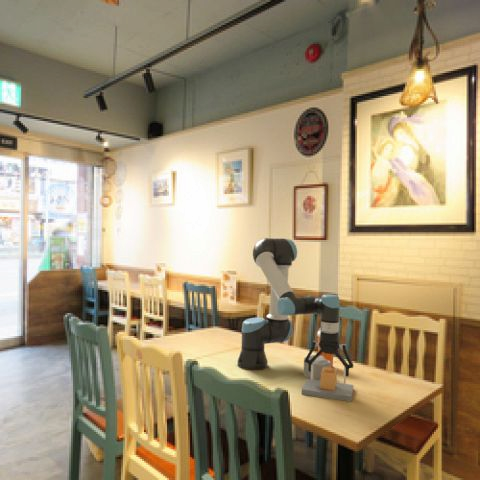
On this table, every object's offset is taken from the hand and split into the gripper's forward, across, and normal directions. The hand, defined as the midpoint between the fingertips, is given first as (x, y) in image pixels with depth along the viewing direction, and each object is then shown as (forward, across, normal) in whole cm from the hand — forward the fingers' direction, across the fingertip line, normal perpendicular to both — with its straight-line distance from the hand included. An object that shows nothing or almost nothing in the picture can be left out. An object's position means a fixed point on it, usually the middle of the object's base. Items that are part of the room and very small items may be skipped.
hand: (328, 381), depth 172 cm
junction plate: (+4, 0, 0) cm, 4 cm away
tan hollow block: (+2, 0, 0) cm, 2 cm away
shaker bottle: (+5, -5, +35) cm, 36 cm away
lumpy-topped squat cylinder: (+5, -8, +20) cm, 22 cm away
